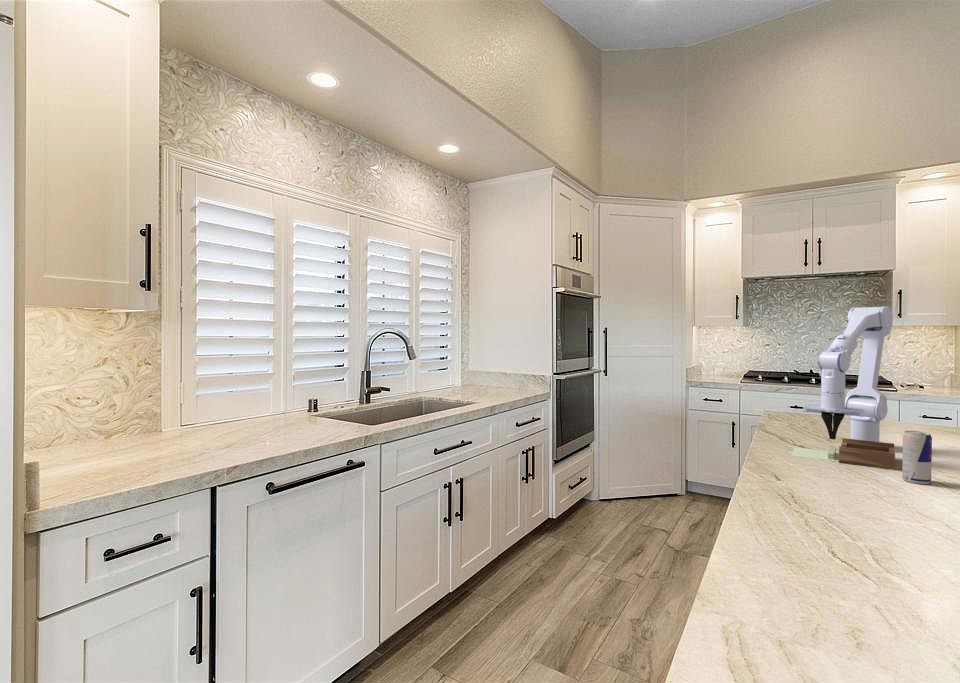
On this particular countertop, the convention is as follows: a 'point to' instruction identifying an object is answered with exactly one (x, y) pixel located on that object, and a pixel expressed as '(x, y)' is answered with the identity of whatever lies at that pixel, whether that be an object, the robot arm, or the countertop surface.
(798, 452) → the lid
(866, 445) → the box
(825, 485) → the countertop surface
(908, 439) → the energy drink
